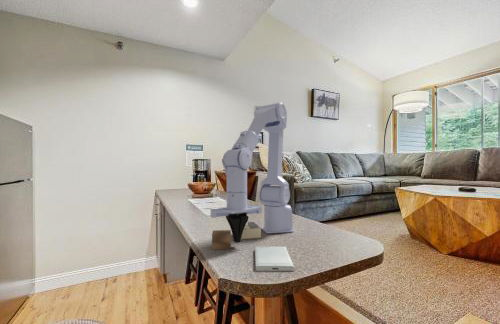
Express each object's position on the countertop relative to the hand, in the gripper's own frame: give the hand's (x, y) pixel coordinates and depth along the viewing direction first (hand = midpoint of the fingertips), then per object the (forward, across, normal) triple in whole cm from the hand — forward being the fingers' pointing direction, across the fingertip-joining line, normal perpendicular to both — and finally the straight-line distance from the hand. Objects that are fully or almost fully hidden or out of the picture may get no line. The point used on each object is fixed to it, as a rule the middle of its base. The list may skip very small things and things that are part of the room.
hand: (237, 241), depth 64 cm
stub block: (+1, +4, -2) cm, 4 cm away
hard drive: (+2, -4, +12) cm, 13 cm away
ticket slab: (+1, -6, -8) cm, 10 cm away
